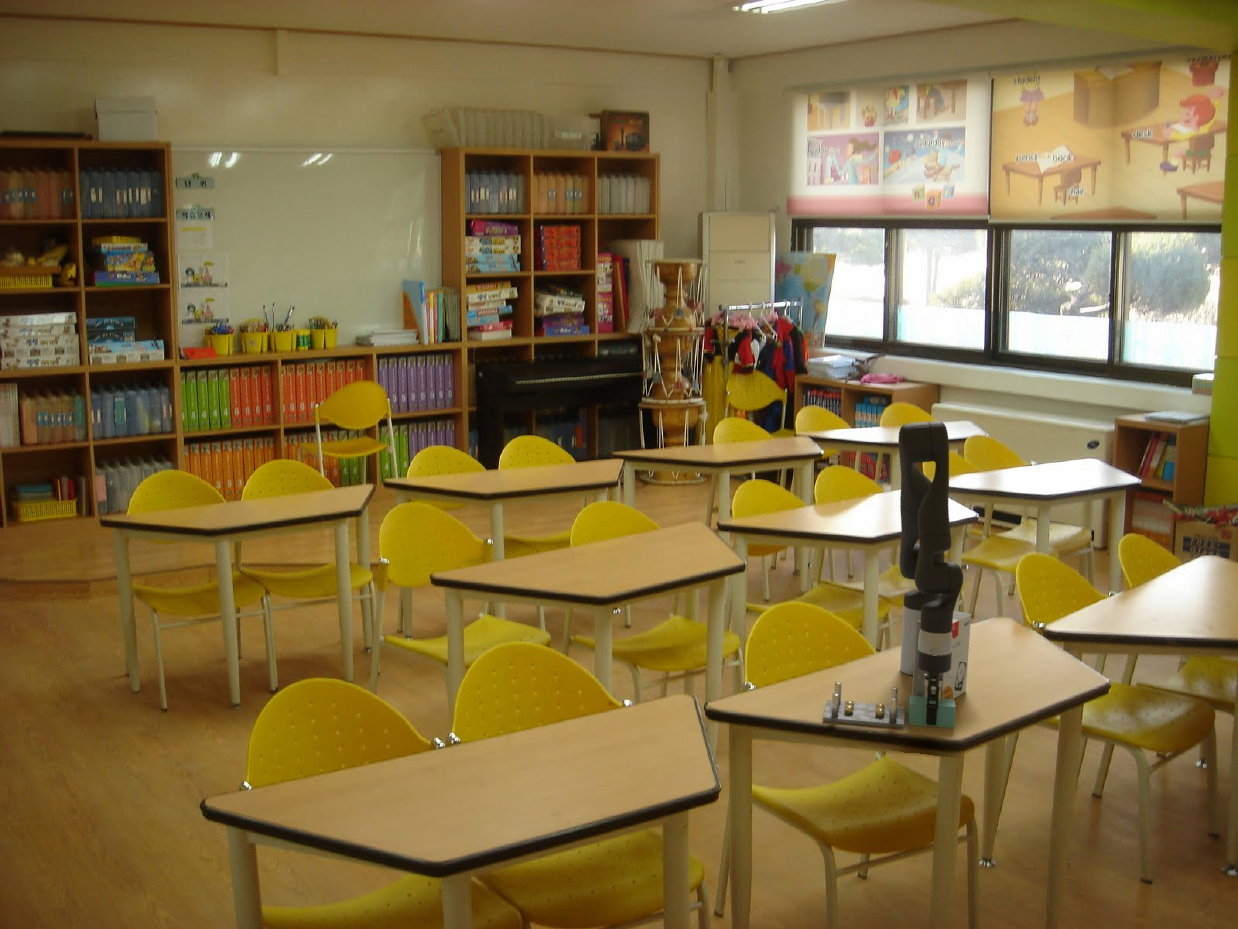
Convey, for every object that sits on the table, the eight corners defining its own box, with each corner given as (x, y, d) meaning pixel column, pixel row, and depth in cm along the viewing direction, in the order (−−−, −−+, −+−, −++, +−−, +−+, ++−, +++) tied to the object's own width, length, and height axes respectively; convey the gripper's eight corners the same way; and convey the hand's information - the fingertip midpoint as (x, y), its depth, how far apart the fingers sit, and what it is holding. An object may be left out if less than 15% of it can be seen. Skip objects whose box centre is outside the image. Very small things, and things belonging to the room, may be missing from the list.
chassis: (826, 703, 309) (827, 679, 308) (904, 710, 305) (905, 686, 304) (823, 721, 298) (824, 696, 297) (903, 729, 294) (905, 703, 293)
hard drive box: (941, 709, 306) (945, 627, 303) (910, 702, 311) (914, 621, 308) (967, 691, 319) (971, 612, 315) (937, 685, 323) (941, 607, 320)
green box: (908, 716, 301) (909, 696, 300) (952, 720, 299) (954, 699, 299) (908, 724, 296) (910, 703, 296) (954, 728, 295) (955, 706, 294)
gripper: (918, 638, 303) (914, 708, 306) (917, 656, 289) (914, 730, 292) (951, 640, 301) (947, 711, 304) (952, 659, 287) (948, 733, 290)
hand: (931, 720), depth 298 cm, fingers closed on green box, 5 cm apart
